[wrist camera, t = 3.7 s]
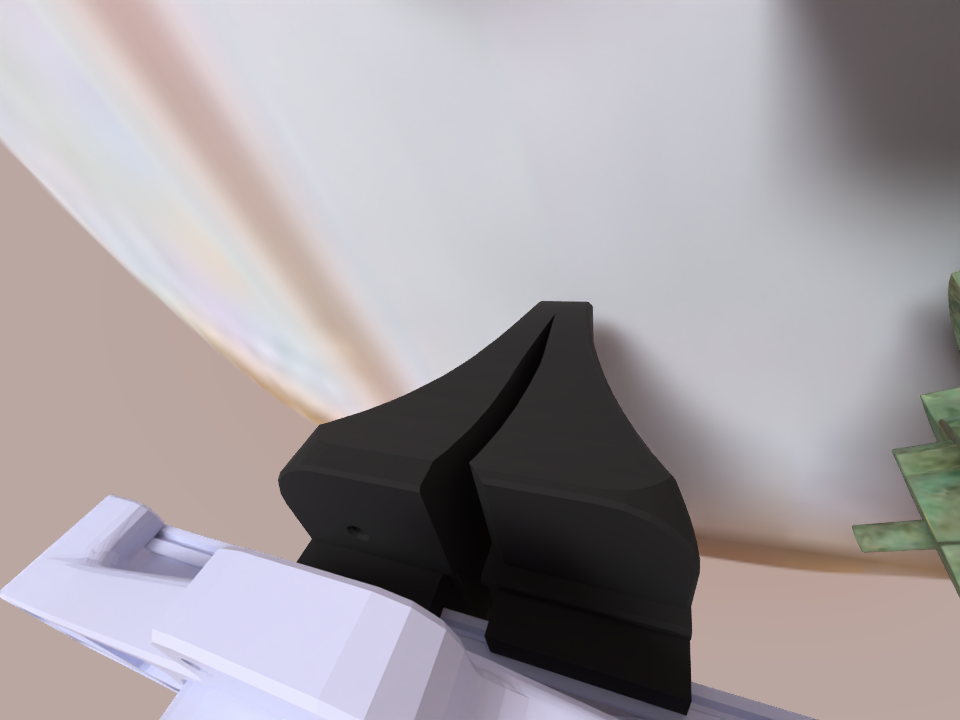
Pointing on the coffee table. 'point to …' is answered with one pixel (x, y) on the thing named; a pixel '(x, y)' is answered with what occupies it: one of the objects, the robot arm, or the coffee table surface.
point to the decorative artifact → (930, 478)
